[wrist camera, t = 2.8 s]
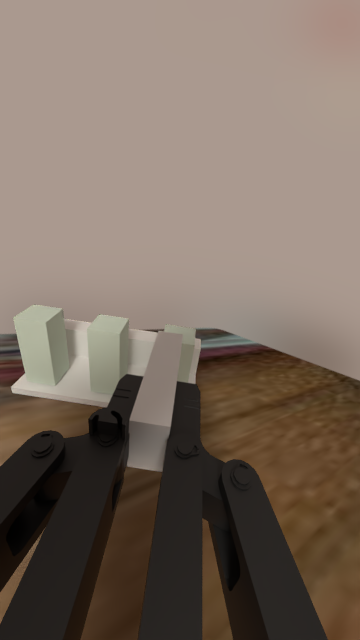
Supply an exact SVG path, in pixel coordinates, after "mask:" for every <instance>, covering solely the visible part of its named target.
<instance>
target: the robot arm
mask: <svg viewBox="0 0 360 640" xmlns="http://www.w3.org/2000/svg"><path fill="white" fill-rule="evenodd" d="M182 339H183V334H177V333H170V332H164V331H158V334H157V337H156V340H155V343H154V346H153V349H152V352H151V355H150V358H149V361H148V364H147V367H146V370H145V374H144V376H137V375H131V374H126V375H125V376H123V377H122V378H121V379H120V380H119V382H118V384H117V386H116V389H115V391H114V393H113V396H112V397H111V399H110V402H109V404H108V406H107V407H106V408H103V409H99V410H97V411H96V412H94V413H93V414H92V415H91V416H90V418H89V419H88V420H89V433H87V434H85V435H82V436H77V437H70V438H63V436H62V435H61V434H60V433H58V432H56V431H51V430H50V431H43V432H40V433H38V434H36V435H34V436H32V437H31V438H30V439H28V440H27V441H26V442H25V443H24V444H23V445H22V446H21V447H20V448H19V449H18V450H17V451H16V452H15V453H14V454H13V455H12V456H11V457H10V458H9V459H8V460H7V461H6V462H5V463H4V464H3V465H1V466H0V592H1V590H2V589H3V588H4V586H5V585H6V583H7V582H8V580H9V579H10V577H11V576H12V575H13V573H14V572H15V570H16V569H17V567H18V566H19V564H20V563H21V562H22V560H23V559H24V557H25V556H26V554H27V553H28V551H29V550H30V549H31V547H32V546H33V544H34V543H35V541H36V540H37V538H38V537H39V536H40V534H41V533H42V531H43V530H44V528H45V527H46V528H45V530H44V532H43V535H42V537H41V539H40V541H39V543H38V545H37V547H36V549H35V552H34V554H33V556H32V558H31V560H30V562H29V564H28V566H27V569H26V571H25V573H24V575H23V577H22V579H21V581H20V583H19V586H18V588H17V590H16V592H15V594H14V596H13V598H12V600H11V603H10V605H9V607H8V609H7V611H6V613H5V615H4V617H3V620H2V622H1V624H0V640H80V639H81V635H82V631H83V628H84V624H85V620H86V617H87V613H88V609H89V606H90V602H91V598H92V595H93V591H94V587H95V584H96V580H97V577H98V573H99V569H100V566H101V562H102V558H103V555H104V551H105V547H106V544H107V540H108V536H109V533H110V529H111V525H112V522H113V518H114V514H115V511H116V507H117V503H118V500H119V496H120V492H121V489H122V485H123V480H124V471H125V468H126V464H127V467H134V468H140V469H146V470H152V471H158V472H162V477H161V484H160V490H159V496H158V504H157V511H156V517H155V524H154V531H153V538H152V545H151V551H150V558H149V565H148V572H147V579H146V585H145V592H144V599H143V606H142V613H141V619H140V626H139V633H138V640H202V518H204V519H205V520H207V521H208V523H209V528H210V532H211V537H212V542H213V546H214V551H215V556H216V560H217V565H218V570H219V574H220V579H221V584H222V588H223V593H224V598H225V602H226V607H227V612H228V616H229V621H230V626H231V630H232V635H233V640H328V639H327V637H326V634H325V632H324V629H323V627H322V625H321V622H320V620H319V618H318V615H317V613H316V611H315V608H314V606H313V603H312V601H311V599H310V596H309V594H308V592H307V589H306V587H305V585H304V582H303V580H302V577H301V575H300V573H299V570H298V568H297V566H296V563H295V561H294V559H293V556H292V554H291V551H290V549H289V547H288V544H287V542H286V540H285V537H284V535H283V533H282V530H281V528H280V525H279V523H278V521H277V518H276V516H275V514H274V511H273V509H272V506H271V504H270V502H269V499H268V497H267V495H266V492H265V490H264V488H263V485H262V483H261V480H260V478H259V476H258V474H257V473H256V471H255V469H254V468H252V467H251V466H250V465H249V464H248V463H246V462H244V461H242V460H236V459H233V460H230V461H228V462H227V463H225V462H223V461H221V460H219V459H217V458H215V457H213V456H212V455H210V454H209V453H208V452H207V451H206V450H205V449H204V447H203V446H202V443H201V440H200V390H199V388H198V386H197V384H192V383H186V382H180V381H177V376H178V369H179V362H180V354H181V347H182Z"/></svg>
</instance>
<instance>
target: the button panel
mask: <svg viewBox="0 0 360 640" xmlns="http://www.w3.org/2000/svg"><path fill="white" fill-rule="evenodd" d="M64 323H65V332H66V341H67V350H68V359H69V369H68V370H67V371H66V373H65V374H64V375H63V376H62V378H61V379H60V380H59V382H58V383H57V384H56V385H55V386H54V385H48V384H41V383H35V382H29V381H27V378H26V374H24V375H23V376H22V377H21V378H20V379H19V380H18V381H17V382H16V383H15V384H14V385H13V386H12V387H11V389H12V393H17V394H23V395H30V396H36V397H42V398H49V399H55V400H61V401H68V402H74V403H81V404H87V405H93V406H100V407H107V406H108V404H109V402H110V399H111V397H112V396H113V395H112V394H105V393H99V392H92V391H91V388H90V372H89V356H88V340H87V328H88V327H89V326H90V325H91V323H90V322H83V321H76V320H70V319H64ZM157 334H158V333H156V332H149V331H143V330H136V329H129V333H128V368H127V374H131V375H137V376H144V374H145V370H146V367H147V364H148V361H149V358H150V355H151V352H152V349H153V346H154V343H155V340H156V337H157ZM200 350H201V339H196V338H195V346H194V352H193V357H192V363H191V368H190V374H189V379H188V383H192V384H195V379H196V370H197V365H198V360H199V355H200Z"/></svg>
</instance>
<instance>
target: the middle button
mask: <svg viewBox="0 0 360 640" xmlns="http://www.w3.org/2000/svg"><path fill="white" fill-rule="evenodd" d="M128 333H129V319H127V318H120V317H114V316H107V315H101V314H99V316H98V317H97V318H96V319H95V320H94V321H93V322H92V323H91V325H90V326H89V327H88V328H87V340H88V356H89V372H90V388H91V391H92V392H99V393H105V394H112V395H113V393H114V391H115V389H116V386H117V384H118V382H119V380H120V379H121V378H122V377H123V376H125V375H126V374H127V368H128Z"/></svg>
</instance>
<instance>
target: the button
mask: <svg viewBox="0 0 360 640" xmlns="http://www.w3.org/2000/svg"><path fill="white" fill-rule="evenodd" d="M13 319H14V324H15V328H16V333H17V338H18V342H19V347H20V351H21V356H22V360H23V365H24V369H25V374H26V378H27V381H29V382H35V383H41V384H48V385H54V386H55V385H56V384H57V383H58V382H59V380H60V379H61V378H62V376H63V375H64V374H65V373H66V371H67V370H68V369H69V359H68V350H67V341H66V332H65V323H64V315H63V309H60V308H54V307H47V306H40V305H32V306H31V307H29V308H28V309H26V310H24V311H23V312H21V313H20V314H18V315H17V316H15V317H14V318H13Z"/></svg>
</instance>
